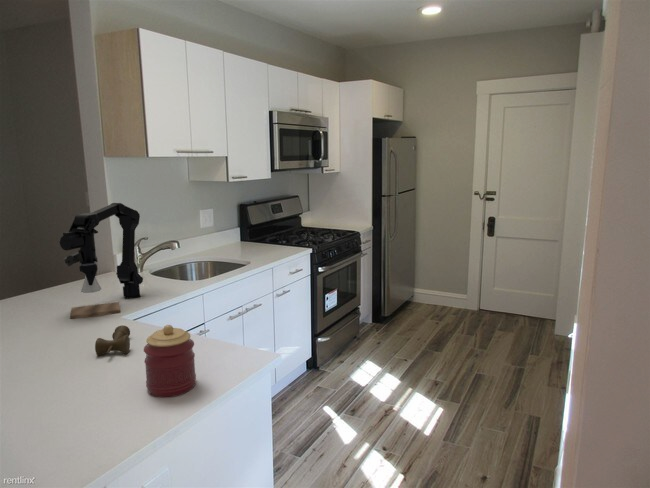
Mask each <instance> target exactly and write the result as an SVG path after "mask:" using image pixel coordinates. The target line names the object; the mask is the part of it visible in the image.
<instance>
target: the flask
mask: <svg viewBox="0 0 650 488" xmlns="http://www.w3.org/2000/svg"><path fill="white" fill-rule="evenodd" d="M84 276H85V277H84V280H83V284H82V287H81V290H80V293H83V294H91V293H97V292H100V291H101V290H102V287H101V285H100V284H99V282H98V280H97V277H95V278H94V281H93V284H92V285H89V283H88V281H87V278H86V275H85V274H84Z"/></svg>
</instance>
